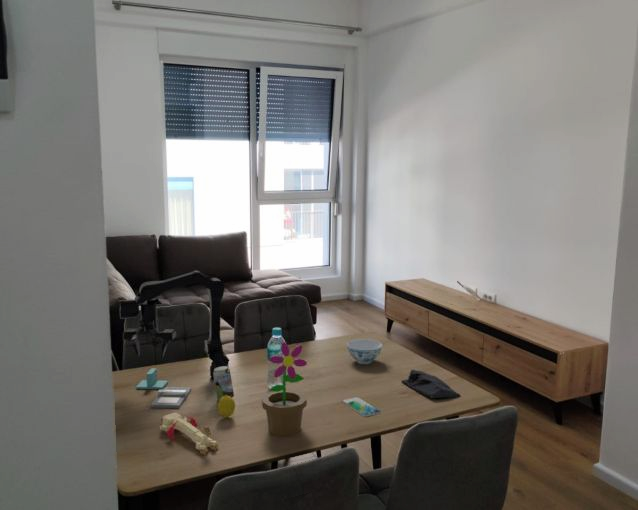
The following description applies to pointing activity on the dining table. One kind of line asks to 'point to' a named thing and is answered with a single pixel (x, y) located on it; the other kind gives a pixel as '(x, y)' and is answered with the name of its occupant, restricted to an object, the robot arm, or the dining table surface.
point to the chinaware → (364, 350)
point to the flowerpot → (285, 396)
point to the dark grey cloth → (429, 385)
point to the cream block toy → (188, 431)
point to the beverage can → (223, 382)
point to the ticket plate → (170, 397)
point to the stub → (152, 381)
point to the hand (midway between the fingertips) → (150, 356)
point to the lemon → (226, 406)
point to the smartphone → (361, 406)
